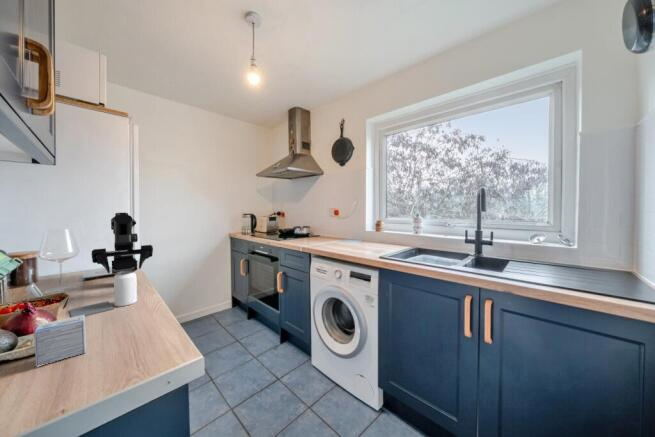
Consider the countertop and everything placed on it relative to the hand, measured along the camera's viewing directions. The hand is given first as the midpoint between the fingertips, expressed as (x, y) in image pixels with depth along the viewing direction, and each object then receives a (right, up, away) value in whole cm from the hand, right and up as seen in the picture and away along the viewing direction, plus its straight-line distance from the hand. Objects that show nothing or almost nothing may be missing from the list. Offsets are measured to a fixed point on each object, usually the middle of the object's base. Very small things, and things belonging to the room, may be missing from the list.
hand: (124, 270), depth 92 cm
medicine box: (+15, -13, -35) cm, 41 cm away
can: (+3, -12, -3) cm, 13 cm away
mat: (-4, -12, -9) cm, 16 cm away
